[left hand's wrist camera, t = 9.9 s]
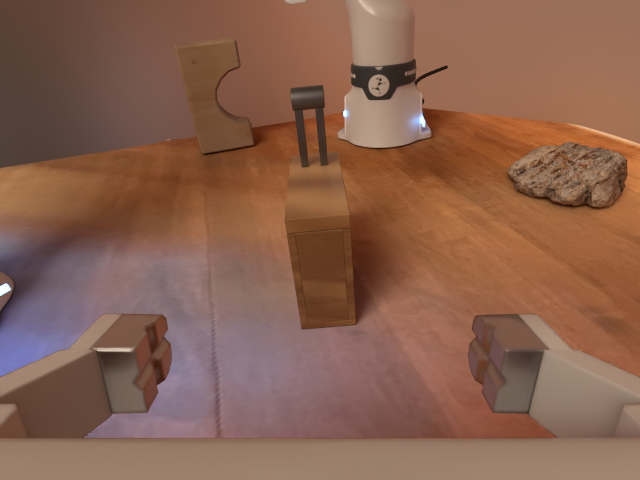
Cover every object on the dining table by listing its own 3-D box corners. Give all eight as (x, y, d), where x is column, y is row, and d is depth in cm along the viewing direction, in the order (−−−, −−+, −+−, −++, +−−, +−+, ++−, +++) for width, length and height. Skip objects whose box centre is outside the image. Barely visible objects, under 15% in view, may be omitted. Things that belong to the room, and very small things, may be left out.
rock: (636, 200, 50) (652, 156, 46) (572, 219, 47) (585, 175, 44) (540, 162, 62) (548, 125, 59) (485, 175, 59) (491, 138, 56)
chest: (302, 247, 48) (292, 168, 42) (343, 243, 47) (338, 164, 42) (301, 329, 36) (286, 234, 30) (356, 324, 36) (350, 228, 30)
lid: (292, 166, 43) (280, 82, 38) (338, 162, 42) (332, 77, 38) (286, 233, 30) (269, 121, 26) (350, 227, 30) (344, 114, 26)
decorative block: (252, 138, 87) (233, 37, 76) (255, 146, 82) (236, 39, 71) (201, 147, 85) (174, 44, 74) (201, 155, 80) (173, 46, 69)
